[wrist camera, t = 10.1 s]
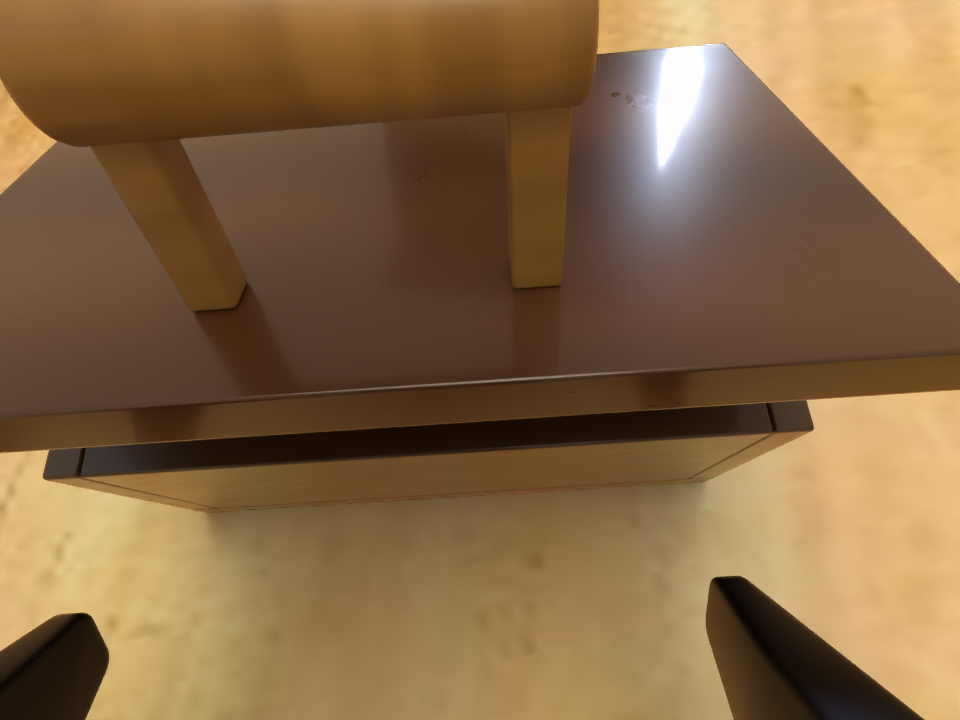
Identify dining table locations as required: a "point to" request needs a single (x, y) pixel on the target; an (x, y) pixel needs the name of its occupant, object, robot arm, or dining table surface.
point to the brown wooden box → (437, 458)
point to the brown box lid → (425, 227)
